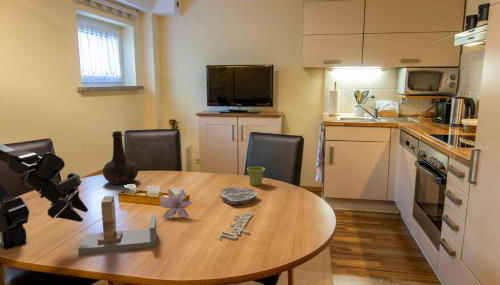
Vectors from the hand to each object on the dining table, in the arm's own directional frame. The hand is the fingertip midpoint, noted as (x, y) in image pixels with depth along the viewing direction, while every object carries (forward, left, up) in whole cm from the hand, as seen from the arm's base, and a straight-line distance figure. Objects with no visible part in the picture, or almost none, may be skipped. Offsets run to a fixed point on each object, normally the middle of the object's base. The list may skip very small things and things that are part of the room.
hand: (84, 215), depth 118 cm
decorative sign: (+46, -28, -11) cm, 55 cm away
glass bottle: (+46, +60, -11) cm, 76 cm away
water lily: (+36, -1, -11) cm, 37 cm away
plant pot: (+92, +3, -11) cm, 92 cm away
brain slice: (+69, -6, -11) cm, 70 cm away
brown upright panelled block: (+6, -5, -9) cm, 11 cm away
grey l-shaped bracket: (+8, -7, -11) cm, 15 cm away
